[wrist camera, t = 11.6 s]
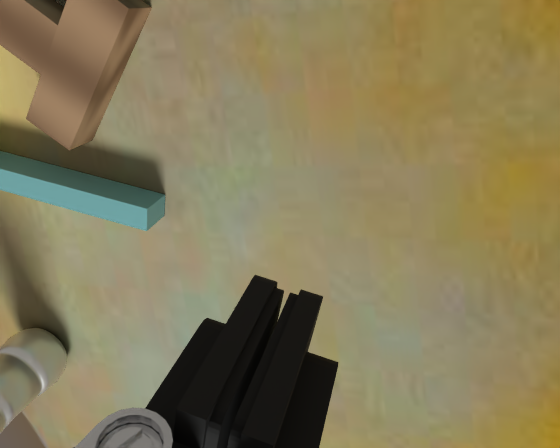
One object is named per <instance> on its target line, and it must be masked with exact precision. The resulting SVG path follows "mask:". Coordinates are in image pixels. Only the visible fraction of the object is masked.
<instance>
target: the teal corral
mask: <svg viewBox="0 0 560 448" xmlns="http://www.w3.org/2000/svg"><path fill="white" fill-rule="evenodd" d="M0 190H3V191H6V192H10V193H13V194H17V195H20V196H24V197H27V198H31V199H35V200H38V201H42V202H45V203H49V204H52V205H56V206H59V207H63V208H67V209H70V210H74V211H77V212H81V213H84V214H88V215H91V216H95V217H99V218H102V219H106V220H109V221H113V222H116V223H120V224H123V225H127V226H131V227H134V228H138V229H141V230H145V231H147V230H148V229H150V228H151V227H152V226H153V225H154V224H155V223H156V222H158V221H159V220H160V219H161V218H162V217H163V216H164V211H165V194H161V193H157V192H153V191H150V190H146V189H142V188H138V187H135V186H131V185H127V184H123V183H120V182H116V181H112V180H108V179H105V178H101V177H97V176H93V175H90V174H86V173H82V172H78V171H75V170H71V169H67V168H63V167H60V166H56V165H52V164H48V163H45V162H41V161H37V160H33V159H30V158H26V157H22V156H18V155H15V154H11V153H7V152H3V151H0Z"/></svg>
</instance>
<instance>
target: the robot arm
mask: <svg viewBox="0 0 560 448" xmlns="http://www.w3.org/2000/svg"><path fill="white" fill-rule="evenodd" d="M283 294H284V290H281V289H278V288H277V282H276V281H273V280H270V279H267V278H263V277H260V276H257V275H255V276H254V277H253V278H252V280H251V282H250V284H249V285H248V287H247V289H246V290H245V292H244V294H243V295H242V297H241V299H240V301H239V302H238V304H237V306H236V307H235V309H234V311H233V312H232V314H231V316H230V318H229V319H228V321H227V323H226V324H224V323H221V322H218V321H215V320H212V319H209V318H206V319H205V320H204V321H203V322H202V323H201V325H200V326H199V328H198V329H197V331H196V332H195V334H194V335H193V337H192V338H191V340H190V341H189V343H188V344H187V346H186V347H185V349H184V350H183V352H182V353H181V355H180V357H179V358H178V360H177V361H176V363H175V364H174V366H173V367H172V369H171V370H170V372H169V373H168V375H167V376H166V378H165V379H164V381H163V382H162V384H161V385H160V387H159V388H158V390H157V391H156V393H155V394H154V396H153V397H152V399H151V400H150V402H149V404H148V405H147V407H146V408H129V409H123V410H119V411H117V412H115V413H113V414H111V415H108V416H107V417H106V418H105V419H103V420H102V421H101V422H100V423H98V424H97V425H96V426H95V427H94V428H93V429H92V430H91V431H90V432H89V433H88V434H87V436H86V437H85V438H84V439H83V440H82V441H81V442H80V443H79V444H78V445H77V446H76V447H74V448H319V445H320V441H321V436H322V432H323V428H324V424H325V419H326V415H327V411H328V407H329V402H330V398H331V394H332V389H333V385H334V381H335V377H336V372H337V368H338V362H336V361H333V360H330V359H327V358H324V357H321V356H318V355H315V354H312V353H309V352H308V349H309V345H310V341H311V338H312V334H313V331H314V327H315V324H316V320H317V317H318V313H319V310H320V306H321V303H322V299H323V296H320V295H317V294H314V293H310V292H307V291H304V290H300V293H299V295H296V294H293V293H290V294H289V297H288V299H287V301H286V303H285V306H284V308H283V310H282V312H281V315H280V317H279V319H278V316H279V312H280V307H281V303H282V298H283ZM277 321H278V322H277Z"/></svg>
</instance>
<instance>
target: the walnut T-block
mask: <svg viewBox="0 0 560 448" xmlns="http://www.w3.org/2000/svg"><path fill="white" fill-rule="evenodd" d="M150 11H151V7H150V6H149V5H147V4H146V3H145V2H143V1H142V0H67V1H66V4H65V7H63V6H61V5H60V4H59V3H57V2H56V1H55V0H0V45H1V46H3V47H4V48H5V49H7V50H8V51H9V52H11V53H12V54H13V55H15V56H16V57H17V58H19V59H20V60H21V61H23V62H24V63H26V64H27V65H28V66H30V67H31V68H32V69H34V70H35V71H36V72H38V73H39V74H40V75H41V76H40V79H39V82H38V85H37V88H36V91H35V94H34V97H33V100H32V103H31V105H30V108H29V111H28V114H27V117H26V119H27V120H28V121H30V122H31V123H32V124H34V125H35V126H36V127H38V128H39V129H41V130H42V131H43V132H45V133H46V134H47V135H49V136H50V137H51V138H53V139H54V140H56V141H57V142H58V143H60V144H61V145H62V146H64V147H65V148H67V149H68V150H71V149H74V148H76V147H78V146H80V145H83V144H85V143H87V142H89V141H92V140H93V138H94V136H95V133H96V131H97V129H98V127H99V125H100V122H101V120H102V118H103V116H104V113H105V111H106V109H107V107H108V104H109V102H110V100H111V98H112V95H113V93H114V91H115V89H116V87H117V84H118V82H119V80H120V78H121V75H122V73H123V71H124V69H125V66H126V64H127V62H128V60H129V57H130V55H131V53H132V51H133V49H134V46H135V44H136V42H137V40H138V37H139V35H140V33H141V31H142V28H143V26H144V24H145V22H146V19H147V17H148V15H149V13H150Z"/></svg>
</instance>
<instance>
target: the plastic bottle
mask: <svg viewBox="0 0 560 448" xmlns="http://www.w3.org/2000/svg"><path fill="white" fill-rule="evenodd" d="M66 362H67V354H66V350H65V348H64V346H63V345H62V343H61V342H60V341H59V340H58V339H57V338H56V337H55V336H54V335H53V334H51V333H50V332H48V331H46V330H43V329H40V328H31V329H24V330H22V331H20V332H18V333H17V334H15V335H13V336H12V337H10V338H9V339H8V340H7V341H6V342H5V343H4V344H3V345H2V346H1V348H0V434H1V433H2V431H3V430H4V428H6V427H7V425H8V424H9V423H10V422H11V421H12V420H13V418H15V417H16V416H17V415H18V414H19V413H20V412H21V411H22V410H23V409H24V408H25V407H26V406H28V405H29V404H30V403H31V402H32V401H33V400H34V399H35V398H36V397H37V396H39V395H40V394H42V393H43V392H45V391H46V390H47V389H49V388H50V387H51V386H52V385H53V384H54V383H56V382H57V380H58V379H59V377H60V376H61V374H62V373H63V371H64V370H65V367H66Z"/></svg>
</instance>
